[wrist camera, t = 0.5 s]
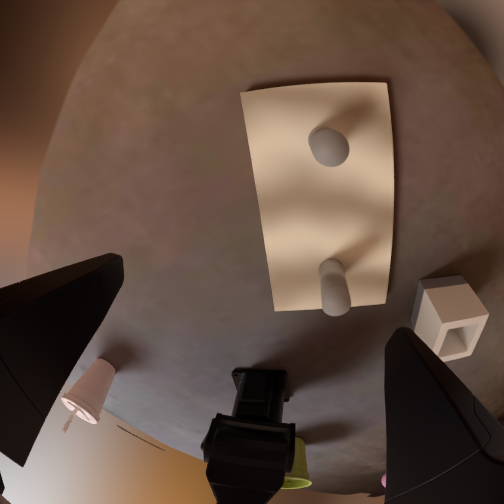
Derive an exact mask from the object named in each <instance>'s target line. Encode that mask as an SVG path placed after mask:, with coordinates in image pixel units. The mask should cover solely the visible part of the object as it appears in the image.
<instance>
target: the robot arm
mask: <svg viewBox="0 0 504 504" xmlns="http://www.w3.org/2000/svg"><path fill="white" fill-rule="evenodd" d="M123 281H124V268H123V258H122V257H121V256H120V255H117V254H114V253H108V254H105V255H101V256H98V257H95V258H91V259H88V260H85V261H82V262H78V263H75V264H72V265H69V266H66V267H62V268H59V269H56V270H53V271H50V272H47V273H44V274H41V275H38V276H35V277H32V278H29V279H26V280H23V281H21V282H20V283H19V282H17V283H14V284H11V285H9V286H6V287H3V288H0V452H2V453H3V454H4V455H6V456H7V457H9V458H10V459H11V460H12V461H14V462H15V463H17V464H18V465H20V466H21V467H23V466H24V465H25V463H26V460H27V457H28V456H29V453H30V451H31V449H32V446H33V444H34V442H35V440H36V438H37V436H38V434H39V432H40V429H41V427H42V426H43V424H44V422H45V418H46V417H47V415H48V413H49V411H50V410H51V408H52V405H53V404H54V402H55V400H56V398H57V396H58V394H59V393H60V391H61V389H62V387H63V385H64V384H65V382H66V380H67V378H68V377H69V375H70V373H71V372H72V370H73V368H74V366H75V365H76V363H77V361H78V360H79V358H80V356H81V355H82V353H83V351H84V350H85V348H86V347H87V345H88V343H89V342H90V340H91V339H92V337H93V336H94V334H95V332H96V331H97V329H98V328H99V326H100V325H101V323H102V321H103V320H104V318H105V316H106V314H107V312H108V311H109V309H110V307H111V305H112V303H113V301H114V299H115V297H116V295H117V293H118V292H119V290H120V288H121V286H122V284H123ZM232 378H233V380H234V383H235V386H236V389H237V395H236V399H235V403H234V407H233V411H232V416H227V415H222V414H221V413H217V415H216V418H214V419H212V422H211V425H210V428H209V431H208V433H207V435H206V436H205V438H204V440H203V442H202V444H201V449H202V451H203V452H204V453H203V454H204V462H206V463H208V464H207V469H206V476H207V479H208V481H209V483H210V486H211V488H212V491H213V493H214V496H215V498H216V500H217V504H266V503H267V502H268V501H269V500H270V499H271V498H272V497H273V496H274V495H275V494H276V493H277V492H278V491H279V489H280V488H281V487H282V486H283V484H284V480H285V474H290V473H291V471H292V468H293V463H294V456H295V423H290V424H287V423H282V414H283V405H284V402H288V401H289V400H290V395H289V386H288V378H287V372H285V371H247V370H233V371H232ZM384 390H385V408H386V437H387V461H386V487H385V502H384V504H504V427H503V426H502V425H501V424H500V423H499V422H498V421H497V420H496V419H495V418H494V416H493V415H492V414H491V413H490V412H489V411H488V410H487V409H486V408H485V407H484V406H483V405H482V404H481V402H480V401H479V400H478V399H477V398H476V397H475V396H474V395H473V394H472V392H471V391H470V390H469V389H468V388H467V387H466V386H465V385H464V384H463V382H462V381H461V380H460V379H459V378H458V377H457V376H456V375H455V374H454V373H453V372H452V371H451V370H450V368H449V367H448V366H447V365H446V364H445V363H444V362H443V361H442V360H441V359H440V358H439V357H438V356H437V355H436V354H435V353H434V352H433V351H432V350H431V349H430V348H429V347H428V346H427V345H426V344H425V343H424V342H423V341H422V340H421V339H420V338H419V337H418V336H417V335H416V334H415V333H414V332H413V331H412V330H411V329H410V328H408V327H402V326H400V327H398V328H397V329H396V330H395V332H394V333H393V335H392V336H391V338H390V339H389V341H388V342H387V344H386V346H385V381H384ZM4 488H5V487H4V484H3V480H2V477H1V473H0V504H11V503H10V502H8V501H7V500H6V499H5V498H4V497H3V496H2V493H3V491H4Z"/></svg>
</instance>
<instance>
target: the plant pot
mask: <svg viewBox="0 0 504 504" xmlns="http://www.w3.org/2000/svg"><path fill="white" fill-rule="evenodd" d="M311 484H312V481H311V480H310V478H309V474H308V472H307V462H306V451H305V442H304V441H303V440H302V439H301V438H298V437H295V456H294V463H293V468H292V471H291V473H290V474H285V480H284V484H283V486H282V487H281V489H293V488H302V487H307V486H309V485H311Z"/></svg>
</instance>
